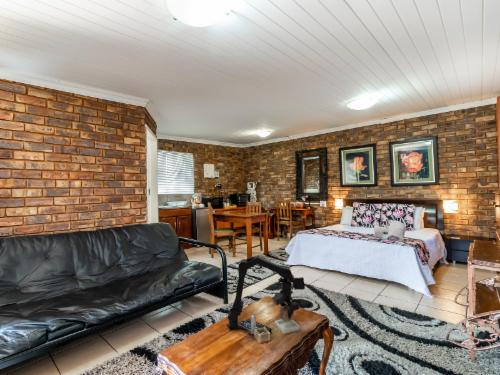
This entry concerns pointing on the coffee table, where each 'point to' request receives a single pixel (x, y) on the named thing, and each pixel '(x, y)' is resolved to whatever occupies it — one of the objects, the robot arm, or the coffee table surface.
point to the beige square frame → (262, 335)
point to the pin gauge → (253, 323)
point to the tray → (286, 326)
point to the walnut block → (285, 314)
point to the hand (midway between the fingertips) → (286, 315)
